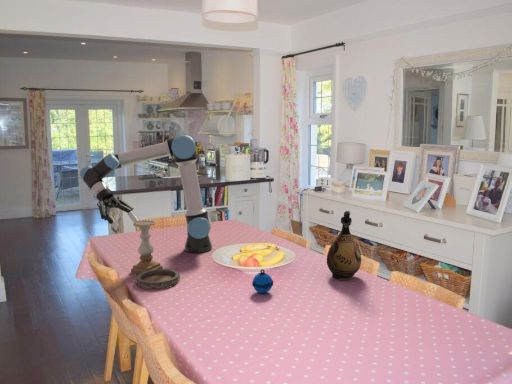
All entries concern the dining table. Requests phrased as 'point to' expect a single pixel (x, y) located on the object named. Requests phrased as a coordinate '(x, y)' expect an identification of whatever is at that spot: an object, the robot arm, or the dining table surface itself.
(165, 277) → the tray
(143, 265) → the candle holder
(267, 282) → the ornament
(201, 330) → the dining table surface
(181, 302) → the dining table surface
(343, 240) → the ceramic jug
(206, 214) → the robot arm
